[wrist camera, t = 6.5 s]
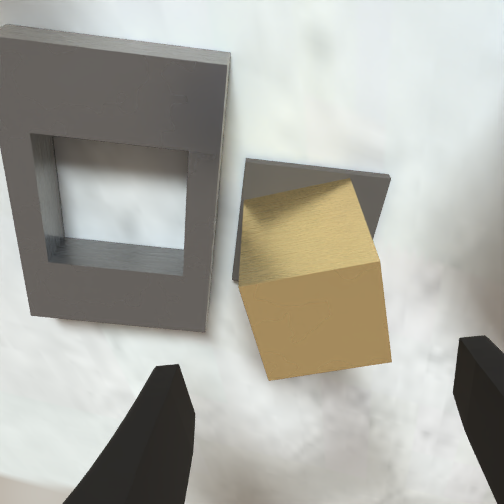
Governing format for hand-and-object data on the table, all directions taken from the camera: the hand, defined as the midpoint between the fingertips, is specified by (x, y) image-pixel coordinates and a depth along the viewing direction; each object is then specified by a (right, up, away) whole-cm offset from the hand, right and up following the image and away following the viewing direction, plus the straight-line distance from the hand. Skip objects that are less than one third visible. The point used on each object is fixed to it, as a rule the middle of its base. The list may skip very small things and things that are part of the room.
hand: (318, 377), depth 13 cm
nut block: (+1, +4, +9) cm, 10 cm away
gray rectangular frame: (-7, +6, +8) cm, 12 cm away
